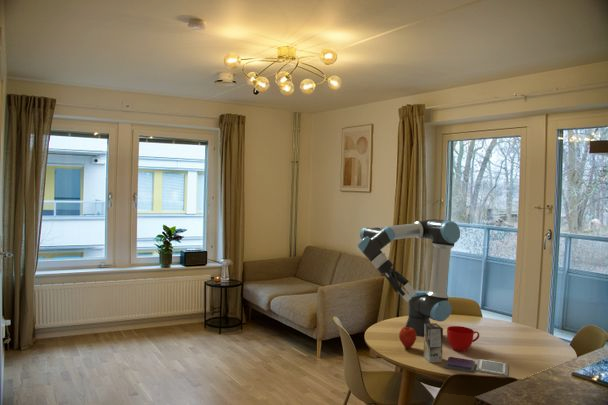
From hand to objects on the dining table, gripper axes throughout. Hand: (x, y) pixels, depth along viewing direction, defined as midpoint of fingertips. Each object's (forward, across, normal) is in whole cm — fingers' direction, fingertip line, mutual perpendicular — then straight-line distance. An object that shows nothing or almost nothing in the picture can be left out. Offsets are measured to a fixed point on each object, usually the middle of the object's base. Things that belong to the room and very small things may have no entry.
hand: (412, 297), depth 230 cm
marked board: (+46, +1, -6) cm, 47 cm away
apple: (+18, +10, +23) cm, 31 cm away
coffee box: (+28, 0, +13) cm, 31 cm away
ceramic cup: (+36, +22, +4) cm, 43 cm away
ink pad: (+37, -3, +3) cm, 37 cm away
